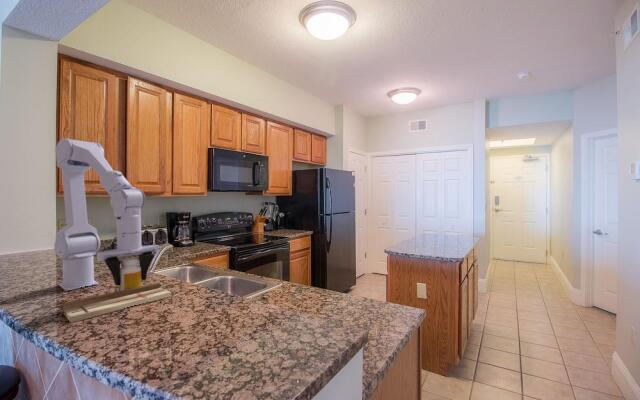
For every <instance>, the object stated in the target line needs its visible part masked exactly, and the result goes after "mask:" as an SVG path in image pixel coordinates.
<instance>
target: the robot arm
mask: <svg viewBox="0 0 640 400" xmlns="http://www.w3.org/2000/svg"><path fill="white" fill-rule="evenodd" d="M55 158H56V160H55V161H56V166H57V168H58V169H61V174H62V176H61V177H62V178H61V179H62V187H63V188H62V189H63V200H64V211H65V221H66V225H65V226H64V227H62V228H61V229H59V230H58V231H57V232H56V233H55V241H54V248H53V249H54V251H55V254H56V256H58V258H60V259H61V260H63V261H62V282H61V283H58V286H59V287H61V289H63V290H64V291H72V290H77V289H81V287H82V288H86V287H85V286H88V287H92V285H93V286H97V285H99V282H98V281H96V280H95V269H94V268H95V265H94V256H95V255H96V260H97V261H99V262H101V261H104V263H105V264H106V266H107V267H108V269H109V272H110V273H111V275H112V279H113V283H114V285H115V286H118V285H120V268H121V260H119V258H124V257H131V256H137V255H138V263H139V266H140V267H141V281H145V280H146V279H147V274H148V270H149V267H150V266H151V263H152V261H153V259H154V257H155V254H154V253H159V252H160V250H159V249H160V245H158V244H151V245H143V244H142V213H141V211H142V210H141V209H143V208H144V207H145V204H146V194H145V193H144V192H143V189H141V188H136V187H135V186H134V187H133V186H132V185H131V183H130V182H129V181H128V180H127V179H126V177H125V176H124V175H123V173H122V172H121V171H118V170H113V168H112V166H111V165H110V164H109V162H108V160H107V159H106V158H105V149H104V148H103V146H102V145H101V144H100V143H99V142H96V141H95V142H91V141H84V140H77V139H71V138H67V137H62V138H61V139H60V140H59V141H58V143H57V144H56V146H55ZM91 169H93V171H94V172H95V173H96V174H97V175H98V176H99V184H100V185H101V186H102V187H103V189H104V190H105V191H106V193H107V194H108V195H109V196H110V200H109V201H110V206H111V208H112V210H113V215H114V217H115V218H116V219H115V220H116V249H109V250H104V251H99V249H100V248H101V239H100V237H99V234H98V229H97V228H96V227H94V226H92V225H91V224H89V221H88V209H87V200H86V199H87V197H86V185H85V177H84V176H85V175H84V174H85V172H87V171H89V170H91ZM75 234H77V235H75Z"/></svg>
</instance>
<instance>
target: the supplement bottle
mask: <svg viewBox="0 0 640 400" xmlns="http://www.w3.org/2000/svg"><path fill="white" fill-rule="evenodd" d="M120 261H121V262H120V285H117V286H118V291H121V290H126V289H130V288H135V287H139V286H143V285H142V279H141V267H140V265H138V264H139V257H138V258H136V257H129V258H123V259H121V260H120Z"/></svg>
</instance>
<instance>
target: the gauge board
mask: <svg viewBox="0 0 640 400" xmlns="http://www.w3.org/2000/svg"><path fill="white" fill-rule="evenodd" d="M161 286H162V285H161V282H160V281H159V282H154V283H150V284H144V285H142V286H139V287H135V288H130V289H126V290H121V291H119V290H118V291H114V292H108V293H103V294H99V295H94V296H90V297H85V298H81V299H76V300H72V301H68V302H64V303H63V302H62V314H63V316H64V317H66V318H67V320H68V321H69V322H70V323H75V322H79V321H84V320H87V319H90V318H95V317H98V316H102V315H106V314H110V313H113V312H117V311H120V310H121V311H122V310H125V309H128V308H127V307H129V308H131V307H130V306H133V307H135V306H134V305H137V306H139V305H138V304H141V305H143V304H142V303H144V304H148V303H151V302H156V301H159V300H162V299H167V298H171V297H172V292H171V291H169V290H167V289H165V288H163V287H161ZM147 302H148V303H147ZM124 308H125V309H124Z"/></svg>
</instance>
